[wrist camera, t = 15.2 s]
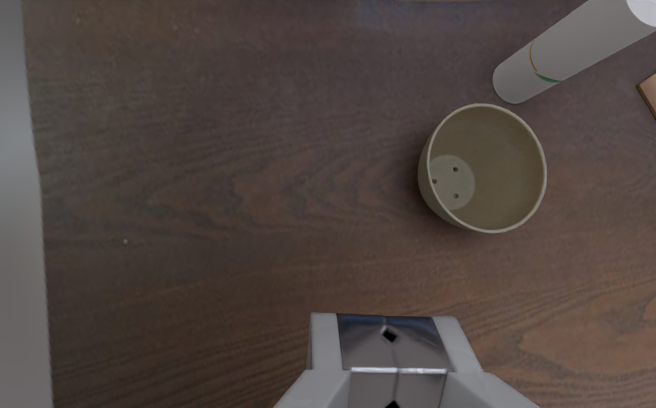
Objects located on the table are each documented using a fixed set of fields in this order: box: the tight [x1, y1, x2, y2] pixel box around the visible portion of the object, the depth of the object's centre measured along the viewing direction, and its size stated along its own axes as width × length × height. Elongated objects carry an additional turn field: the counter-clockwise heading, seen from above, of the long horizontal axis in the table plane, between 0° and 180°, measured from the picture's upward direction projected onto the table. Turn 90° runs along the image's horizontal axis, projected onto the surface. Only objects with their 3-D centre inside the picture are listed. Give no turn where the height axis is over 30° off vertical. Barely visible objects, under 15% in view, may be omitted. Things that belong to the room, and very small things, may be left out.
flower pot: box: [418, 103, 547, 233], centre depth 38 cm, size 10×10×7 cm
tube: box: [493, 0, 656, 104], centre depth 37 cm, size 4×4×15 cm
